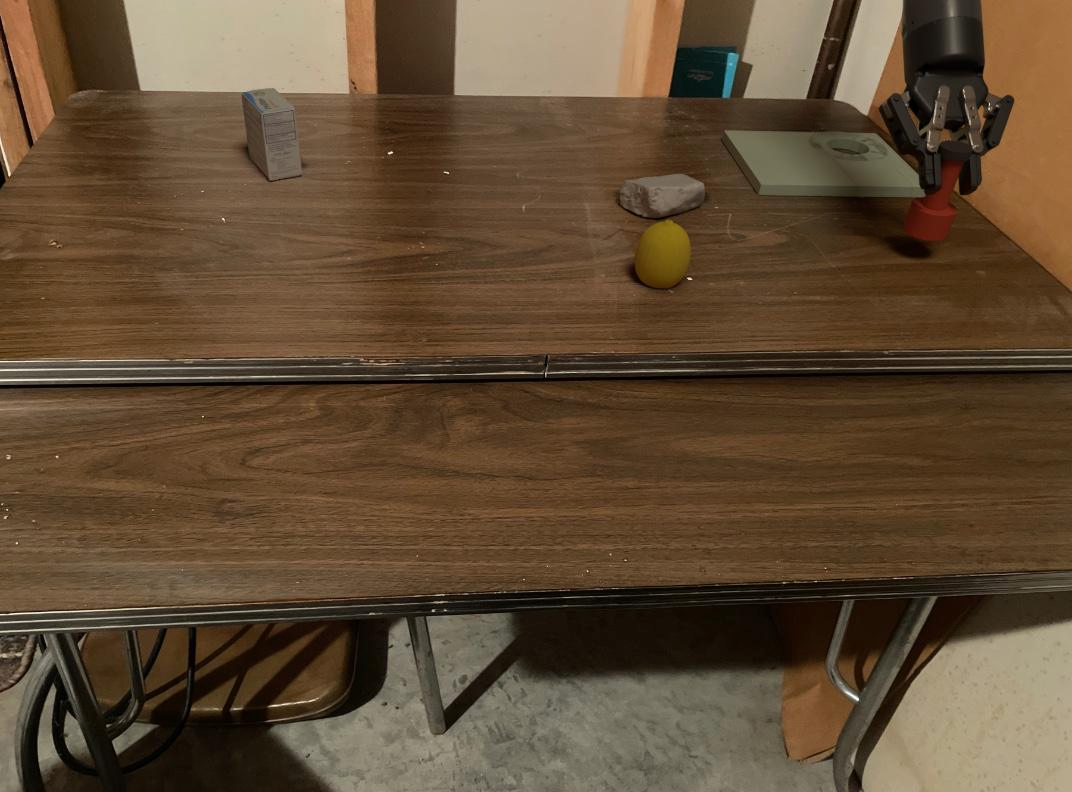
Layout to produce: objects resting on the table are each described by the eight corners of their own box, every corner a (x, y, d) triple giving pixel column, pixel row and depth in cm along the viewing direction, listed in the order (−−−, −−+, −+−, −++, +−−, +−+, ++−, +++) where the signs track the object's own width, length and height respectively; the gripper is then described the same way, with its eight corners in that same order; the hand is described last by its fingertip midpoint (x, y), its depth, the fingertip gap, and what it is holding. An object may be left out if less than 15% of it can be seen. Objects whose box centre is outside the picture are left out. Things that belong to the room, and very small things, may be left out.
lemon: (619, 283, 97) (630, 213, 92) (663, 274, 99) (676, 204, 94) (648, 309, 93) (661, 237, 88) (693, 298, 95) (708, 228, 90)
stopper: (936, 222, 101) (968, 137, 95) (954, 241, 98) (989, 155, 92) (895, 222, 101) (925, 137, 95) (912, 241, 98) (944, 155, 92)
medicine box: (303, 176, 114) (297, 107, 109) (268, 182, 113) (260, 112, 107) (281, 153, 120) (275, 86, 114) (248, 159, 118) (240, 90, 112)
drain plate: (872, 142, 131) (875, 132, 130) (926, 198, 117) (931, 186, 116) (721, 139, 129) (723, 129, 128) (758, 195, 115) (761, 184, 114)
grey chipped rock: (677, 222, 116) (689, 176, 114) (708, 230, 111) (722, 181, 109) (613, 209, 112) (625, 160, 110) (642, 217, 106) (656, 165, 105)
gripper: (894, 11, 92) (904, 178, 90) (1030, 14, 93) (1041, 179, 91) (859, 50, 99) (867, 205, 98) (984, 52, 100) (994, 206, 99)
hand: (951, 191), depth 94 cm, fingers closed on stopper, 3 cm apart
